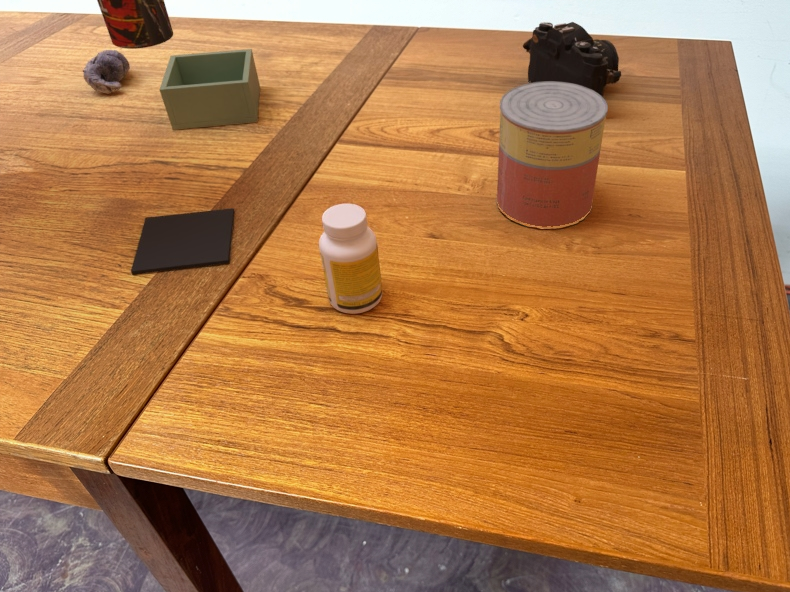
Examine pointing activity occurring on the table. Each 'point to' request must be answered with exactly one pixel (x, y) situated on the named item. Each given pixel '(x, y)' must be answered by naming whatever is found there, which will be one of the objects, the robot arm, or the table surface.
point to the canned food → (549, 151)
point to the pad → (184, 241)
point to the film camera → (571, 57)
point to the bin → (211, 89)
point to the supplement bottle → (350, 259)
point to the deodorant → (136, 22)
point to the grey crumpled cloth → (106, 71)
